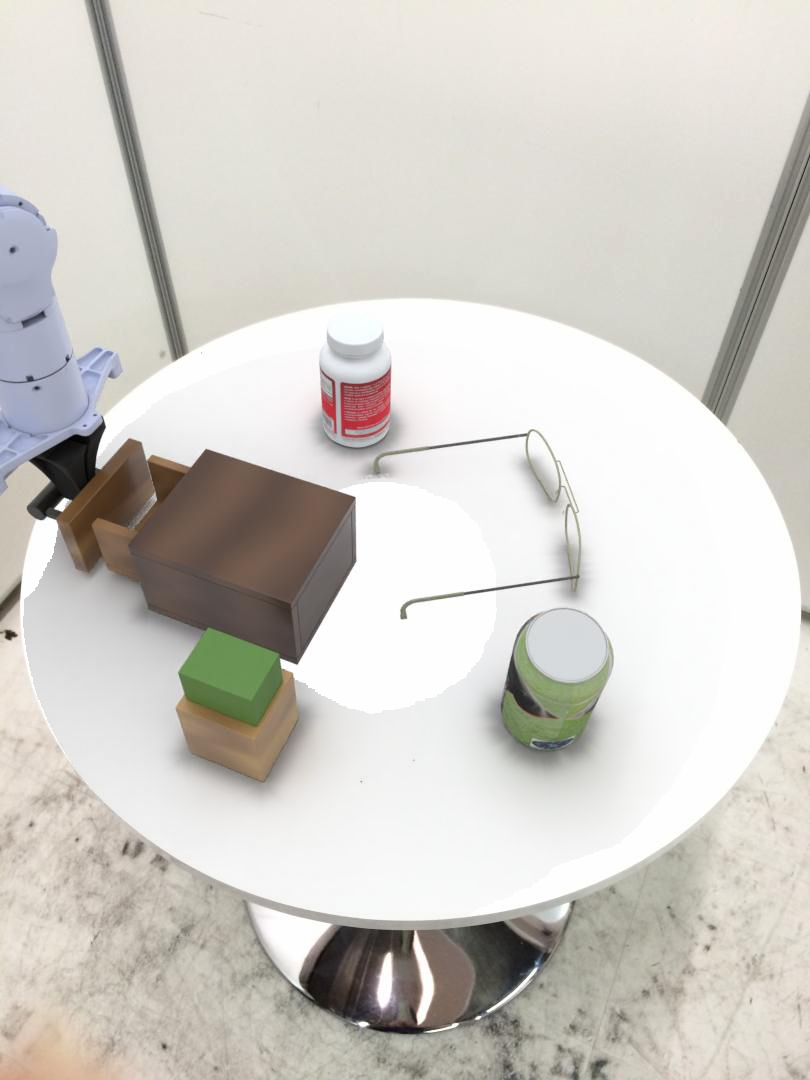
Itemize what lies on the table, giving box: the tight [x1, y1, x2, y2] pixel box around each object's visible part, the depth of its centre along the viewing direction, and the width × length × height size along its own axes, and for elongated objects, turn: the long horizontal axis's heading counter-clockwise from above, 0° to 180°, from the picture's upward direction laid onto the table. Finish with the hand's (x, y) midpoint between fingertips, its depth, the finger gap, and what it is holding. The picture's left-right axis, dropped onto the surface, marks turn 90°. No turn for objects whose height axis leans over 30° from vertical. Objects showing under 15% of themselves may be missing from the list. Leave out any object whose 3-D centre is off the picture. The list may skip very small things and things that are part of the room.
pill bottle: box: [318, 310, 392, 448], centre depth 76 cm, size 6×6×11 cm
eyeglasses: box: [373, 428, 582, 620], centre depth 70 cm, size 16×15×5 cm
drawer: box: [26, 437, 192, 583], centre depth 67 cm, size 16×9×6 cm, turn 68°
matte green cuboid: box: [177, 628, 283, 727], centre depth 54 cm, size 5×4×3 cm
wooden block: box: [175, 667, 299, 783], centre depth 57 cm, size 6×5×6 cm
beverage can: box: [500, 606, 615, 751], centre depth 56 cm, size 6×7×12 cm
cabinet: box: [128, 448, 357, 666], centre depth 65 cm, size 13×11×8 cm
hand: (79, 495), depth 68 cm, fingers closed, pressing on drawer
